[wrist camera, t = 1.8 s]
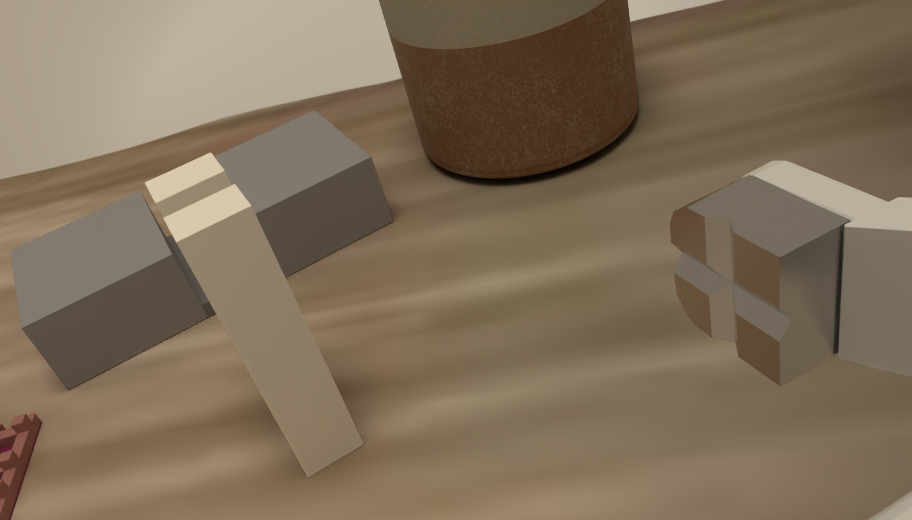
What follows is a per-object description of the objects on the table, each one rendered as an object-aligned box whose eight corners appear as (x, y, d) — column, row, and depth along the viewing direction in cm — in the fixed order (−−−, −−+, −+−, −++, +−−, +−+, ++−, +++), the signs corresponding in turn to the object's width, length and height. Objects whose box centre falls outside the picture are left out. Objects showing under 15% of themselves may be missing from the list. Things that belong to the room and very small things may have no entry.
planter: (567, 56, 67) (539, -118, 59) (686, 121, 54) (671, -88, 46) (395, 129, 64) (339, -44, 56) (479, 217, 51) (424, 10, 43)
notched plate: (319, 375, 43) (210, 152, 35) (363, 444, 38) (251, 205, 30) (268, 404, 42) (144, 182, 34) (307, 477, 38) (175, 242, 29)
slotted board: (337, 168, 61) (314, 110, 58) (393, 221, 53) (371, 156, 50) (51, 308, 55) (9, 250, 52) (68, 389, 47) (21, 328, 44)
